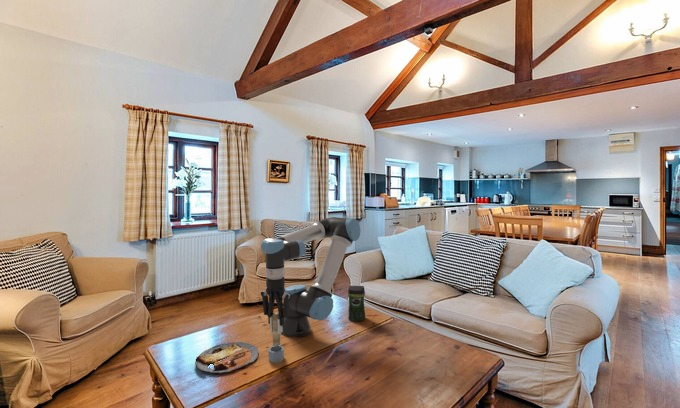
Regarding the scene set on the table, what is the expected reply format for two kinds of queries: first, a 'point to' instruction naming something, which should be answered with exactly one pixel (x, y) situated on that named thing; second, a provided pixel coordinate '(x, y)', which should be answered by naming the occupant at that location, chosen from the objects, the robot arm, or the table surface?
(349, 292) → the coffee jar
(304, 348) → the table surface
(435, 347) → the table surface
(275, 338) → the pestle
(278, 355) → the cup
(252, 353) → the food plate
